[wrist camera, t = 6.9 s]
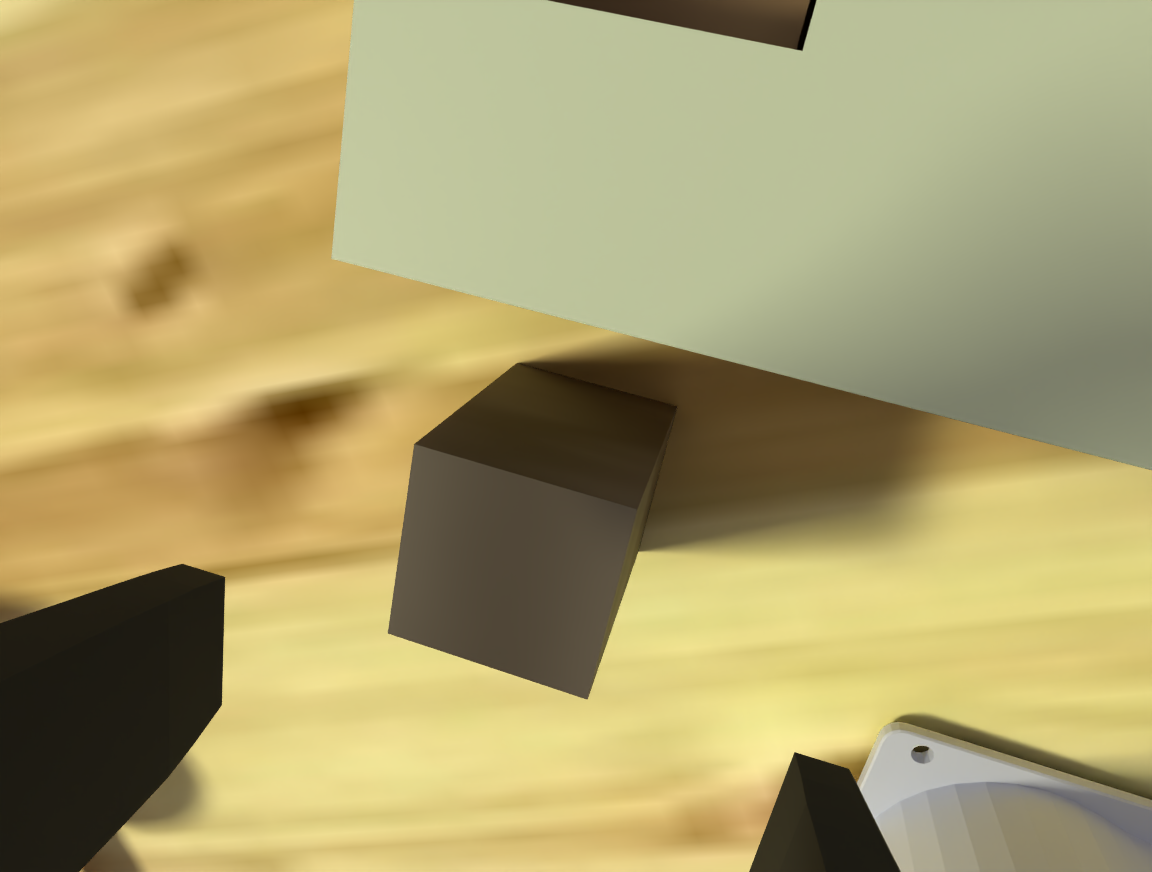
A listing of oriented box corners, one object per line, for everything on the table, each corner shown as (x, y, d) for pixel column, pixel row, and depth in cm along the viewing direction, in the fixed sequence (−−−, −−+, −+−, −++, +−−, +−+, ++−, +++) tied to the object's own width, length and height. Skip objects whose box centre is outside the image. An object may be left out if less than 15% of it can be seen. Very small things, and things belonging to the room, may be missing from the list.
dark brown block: (677, 406, 19) (637, 509, 13) (638, 551, 20) (587, 699, 15) (517, 363, 19) (414, 444, 14) (490, 507, 21) (387, 633, 15)
